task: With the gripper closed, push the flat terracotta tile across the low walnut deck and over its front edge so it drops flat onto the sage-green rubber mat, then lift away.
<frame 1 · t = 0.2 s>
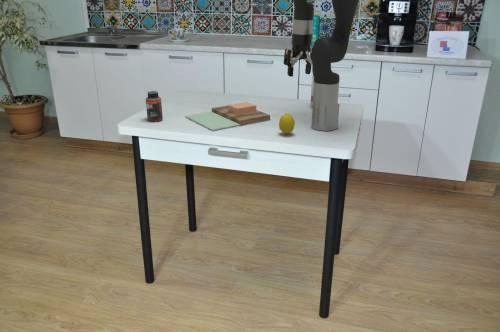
hand: (299, 75, 183), 17 cm above the table, tool pointing down, fingers open, 8 cm apart
supplement bottle: (155, 120, 187), on the table
lemon: (286, 135, 171), on the table
deck: (240, 116, 192), on the table
mat: (211, 121, 185), on the table
tile: (242, 111, 192), point 2 cm above the table, touching deck
supplement can: (319, 108, 205), on the table
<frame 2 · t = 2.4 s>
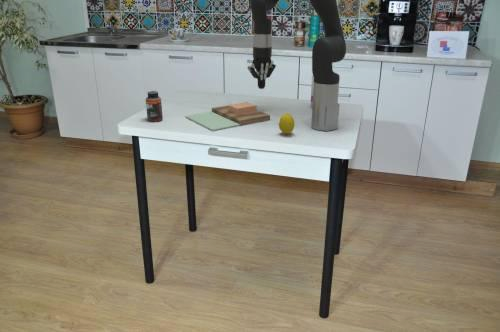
hand: (261, 88, 194), 10 cm above the table, tool pointing down, fingers closed
nothing on the table moved.
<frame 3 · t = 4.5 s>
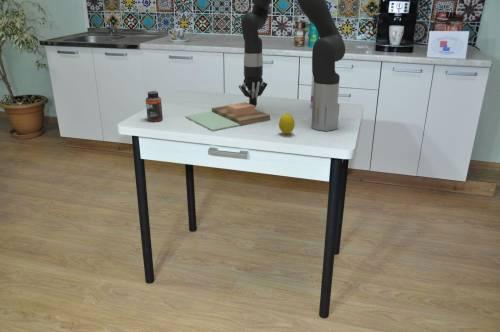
hand: (253, 106, 194), 3 cm above the table, tool pointing down, fingers closed
tile: (240, 111, 192), point 2 cm above the table, touching gripper
everything else where it was.
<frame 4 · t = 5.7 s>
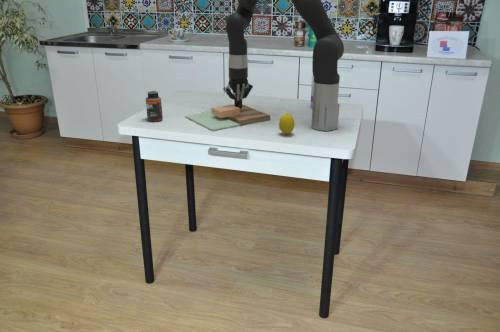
hand: (238, 109, 191), 3 cm above the table, tool pointing down, fingers closed
tile: (225, 114, 188), point 2 cm above the table, touching gripper
everything else where it was.
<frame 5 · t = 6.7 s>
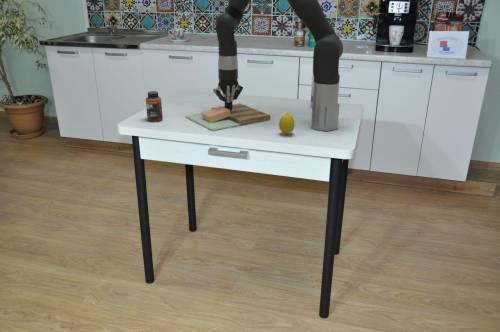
hand: (228, 110, 188), 3 cm above the table, tool pointing down, fingers closed
tile: (216, 117, 186), point 1 cm above the table, tilted 9°, touching deck, gripper
everything else where it was.
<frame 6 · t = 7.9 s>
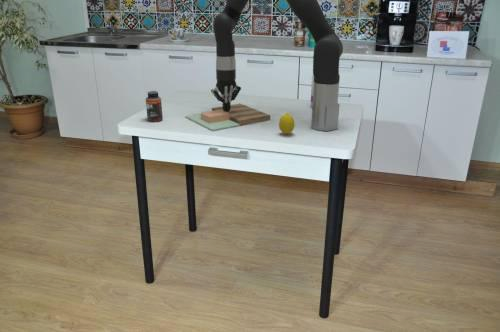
hand: (226, 111, 188), 3 cm above the table, tool pointing down, fingers closed
tile: (215, 119, 186), point 1 cm above the table, touching gripper, mat
everything else where it was.
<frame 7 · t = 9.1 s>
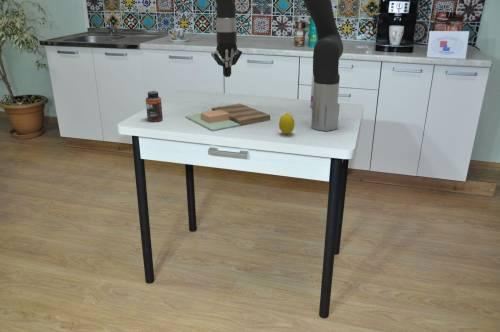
hand: (227, 76, 183), 17 cm above the table, tool pointing down, fingers closed
tile: (215, 119, 186), point 1 cm above the table, touching mat
everything else where it was.
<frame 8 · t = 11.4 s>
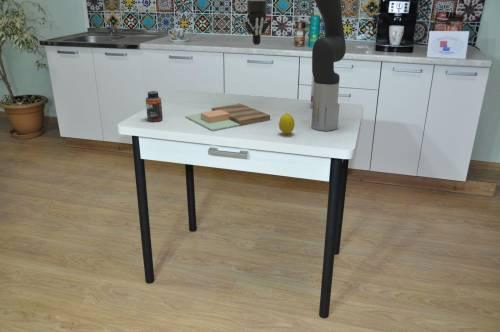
hand: (256, 44, 193), 27 cm above the table, tool pointing down, fingers closed
nothing on the table moved.
at the end: tile inside the target area (1.8 cm from its centre), point 0.6 cm above the table; tile touching mat; tile tilted 0° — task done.
